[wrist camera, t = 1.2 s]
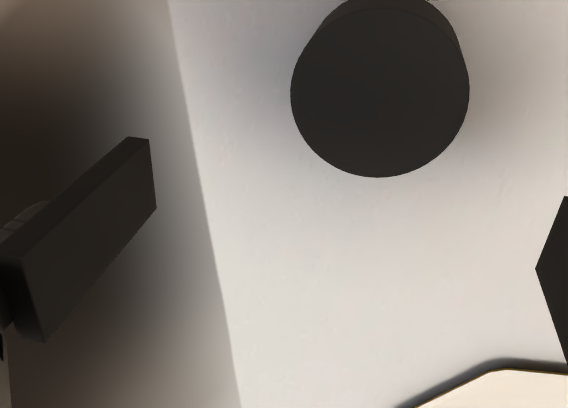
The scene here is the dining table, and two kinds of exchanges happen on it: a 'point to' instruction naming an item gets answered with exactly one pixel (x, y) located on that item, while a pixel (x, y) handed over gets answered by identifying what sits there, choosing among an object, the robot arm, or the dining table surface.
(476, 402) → the plate
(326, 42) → the puck
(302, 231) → the dining table surface
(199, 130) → the dining table surface
